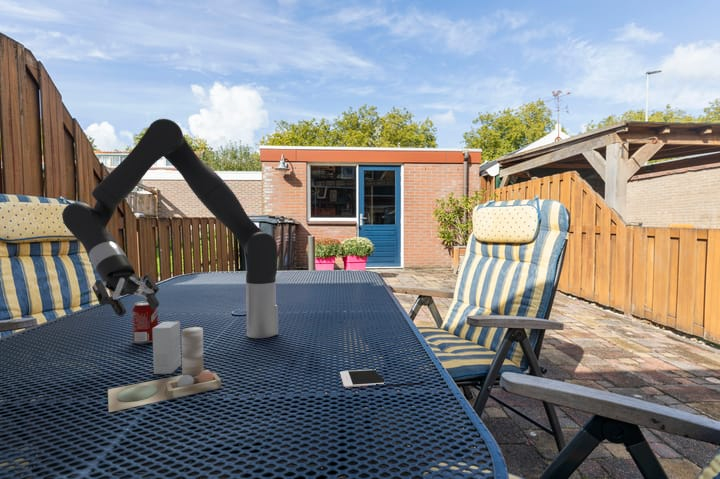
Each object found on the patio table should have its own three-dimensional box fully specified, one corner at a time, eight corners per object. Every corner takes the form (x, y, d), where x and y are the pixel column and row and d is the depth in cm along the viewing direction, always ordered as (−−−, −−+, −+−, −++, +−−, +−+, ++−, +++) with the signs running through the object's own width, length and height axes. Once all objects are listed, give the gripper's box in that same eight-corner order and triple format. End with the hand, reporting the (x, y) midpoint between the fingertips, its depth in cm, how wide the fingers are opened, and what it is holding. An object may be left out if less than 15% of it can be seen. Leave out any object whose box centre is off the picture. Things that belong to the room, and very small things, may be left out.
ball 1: (192, 386, 83) (192, 371, 83) (195, 391, 81) (195, 376, 81) (176, 389, 82) (175, 374, 81) (178, 395, 79) (178, 379, 79)
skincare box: (163, 369, 96) (162, 321, 96) (181, 369, 96) (180, 321, 96) (152, 379, 90) (151, 328, 90) (171, 378, 90) (170, 327, 90)
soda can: (147, 345, 115) (146, 305, 114) (127, 344, 116) (126, 304, 116) (163, 339, 122) (162, 301, 121) (144, 338, 123) (143, 300, 122)
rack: (208, 374, 93) (207, 324, 92) (221, 393, 83) (220, 336, 82) (108, 395, 82) (106, 337, 81) (108, 418, 72) (107, 353, 71)
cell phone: (423, 385, 88) (423, 380, 88) (344, 390, 85) (344, 386, 85) (411, 370, 97) (412, 366, 97) (339, 375, 94) (339, 371, 94)
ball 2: (212, 381, 86) (211, 367, 85) (215, 386, 83) (215, 372, 83) (196, 385, 84) (196, 370, 84) (199, 390, 81) (199, 375, 81)
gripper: (87, 255, 94) (118, 306, 90) (143, 251, 107) (172, 296, 102) (76, 275, 97) (104, 327, 92) (131, 269, 110) (159, 314, 105)
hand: (140, 311), depth 97 cm, fingers open, 8 cm apart
